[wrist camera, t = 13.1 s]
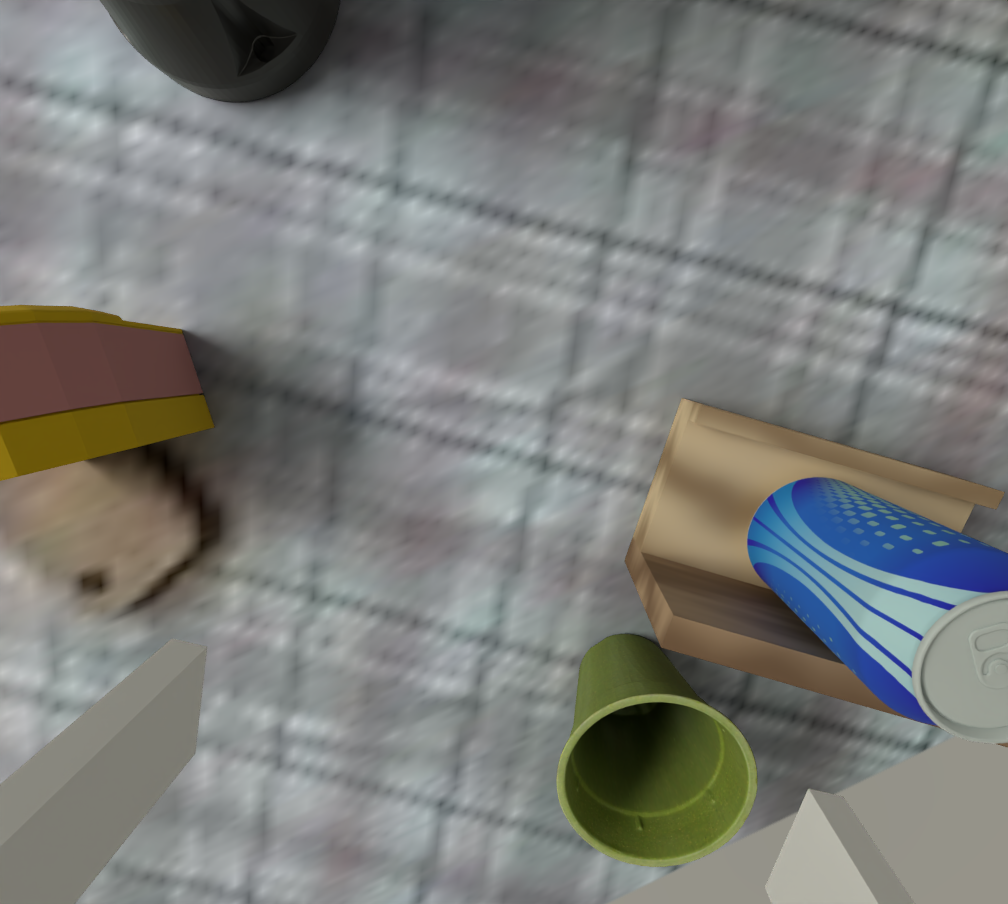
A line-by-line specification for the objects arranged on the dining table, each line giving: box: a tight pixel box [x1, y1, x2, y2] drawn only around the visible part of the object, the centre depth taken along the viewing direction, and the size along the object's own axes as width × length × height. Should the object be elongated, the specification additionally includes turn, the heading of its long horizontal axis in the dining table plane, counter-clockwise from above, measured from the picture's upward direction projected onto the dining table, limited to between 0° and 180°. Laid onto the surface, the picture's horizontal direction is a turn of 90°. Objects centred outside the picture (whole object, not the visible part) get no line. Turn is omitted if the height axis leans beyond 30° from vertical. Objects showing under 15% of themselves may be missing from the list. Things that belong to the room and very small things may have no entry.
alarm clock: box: [0, 305, 214, 481], centre depth 31 cm, size 15×8×18 cm, turn 103°
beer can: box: [747, 477, 1008, 744], centre depth 29 cm, size 8×8×16 cm
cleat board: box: [625, 398, 1008, 747], centre depth 33 cm, size 13×20×12 cm, turn 74°
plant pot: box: [557, 634, 757, 867], centre depth 37 cm, size 12×12×11 cm
